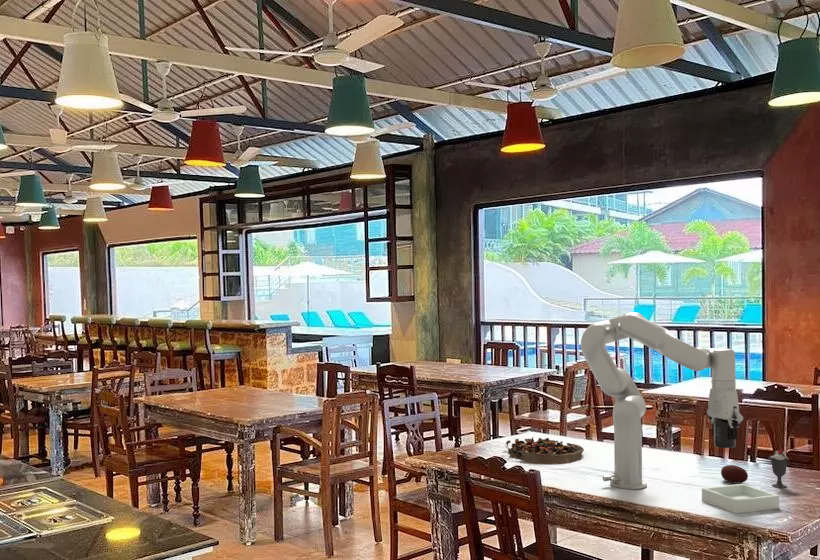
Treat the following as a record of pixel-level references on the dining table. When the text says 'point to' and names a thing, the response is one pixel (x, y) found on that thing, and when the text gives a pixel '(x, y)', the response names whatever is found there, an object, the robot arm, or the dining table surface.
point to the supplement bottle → (722, 434)
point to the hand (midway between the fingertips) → (724, 437)
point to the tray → (740, 498)
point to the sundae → (779, 466)
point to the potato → (734, 474)
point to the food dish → (545, 451)
